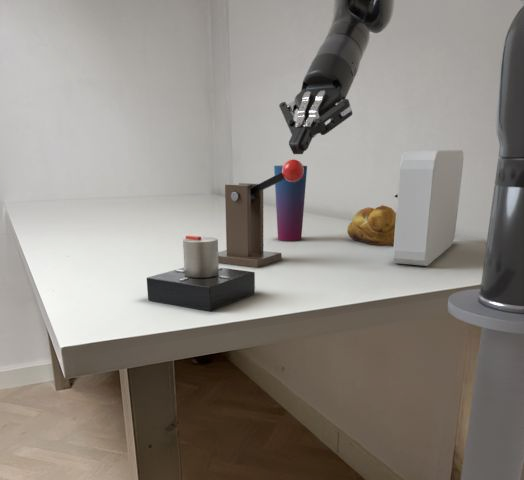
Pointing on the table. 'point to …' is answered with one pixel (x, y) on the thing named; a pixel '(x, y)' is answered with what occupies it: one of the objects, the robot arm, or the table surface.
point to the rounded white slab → (426, 205)
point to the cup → (290, 206)
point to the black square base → (201, 288)
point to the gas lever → (281, 176)
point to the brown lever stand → (245, 228)
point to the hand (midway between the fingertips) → (296, 150)
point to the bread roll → (373, 226)
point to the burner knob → (200, 256)
